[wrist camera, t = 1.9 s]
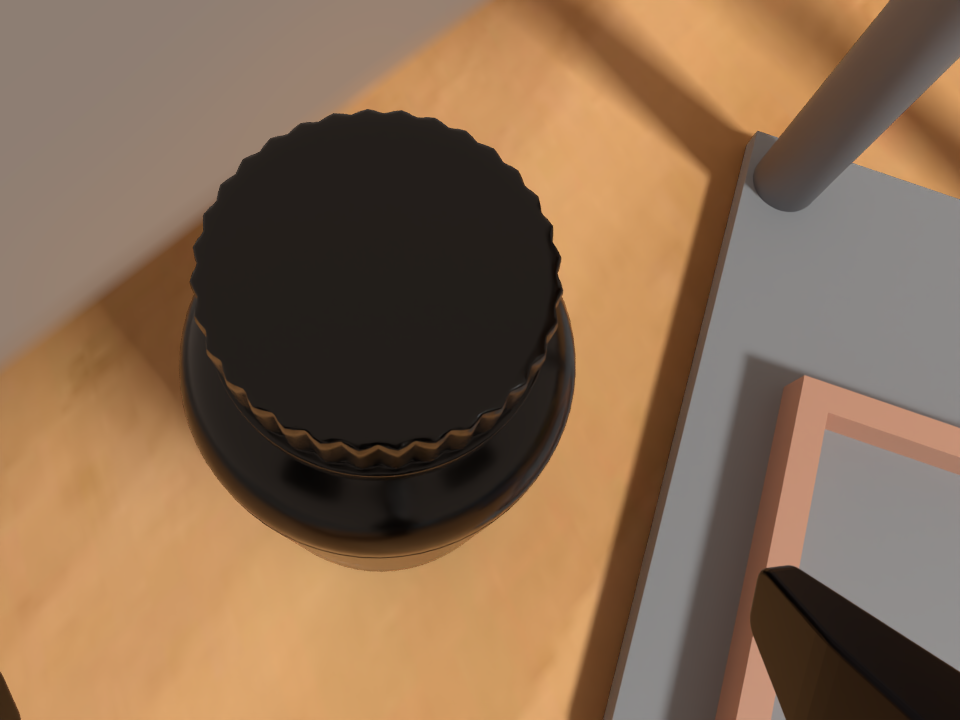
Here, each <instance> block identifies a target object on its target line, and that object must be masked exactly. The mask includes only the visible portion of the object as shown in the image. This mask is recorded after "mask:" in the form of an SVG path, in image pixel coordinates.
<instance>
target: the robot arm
mask: <svg viewBox="0 0 960 720" xmlns="http://www.w3.org/2000/svg"><path fill="white" fill-rule="evenodd" d="M750 625H751V630H752V634H753V637H754V639H755V642H756V644H757V647H758V650H759V652H760V655H761V657H762V660H763V662H764V665H765V668H766V670H767V673H768V675H769V678H770V680H771V683H772V686H773V688H774V691H775V693H776V696H777V698H778V701H779V704H780V706H781V709H782V711H783V714H784V716H785V719H786V720H960V671H958V670H957V669H955V668H954V667H952V666H951V665H949V664H947V663H946V662H944V661H943V660H941V659H940V658H938V657H936V656H935V655H933V654H932V653H930V652H929V651H927V650H926V649H924V648H922V647H921V646H919V645H918V644H916V643H915V642H913V641H912V640H910V639H908V638H907V637H905V636H904V635H902V634H901V633H899V632H898V631H896V630H894V629H893V628H891V627H890V626H888V625H887V624H885V623H884V622H882V621H880V620H879V619H877V618H876V617H874V616H873V615H871V614H869V613H868V612H866V611H865V610H863V609H862V608H860V607H859V606H857V605H855V604H854V603H852V602H851V601H849V600H848V599H846V598H845V597H843V596H841V595H840V594H838V593H837V592H835V591H834V590H832V589H831V588H829V587H827V586H826V585H824V584H823V583H821V582H820V581H818V580H816V579H815V578H813V577H812V576H810V575H809V574H807V573H806V572H804V571H802V570H801V569H799V568H797V567H795V566H791V565H785V566H778V567H770V568H765V569H762V570H761V572H760V573H759V575H758V578H757V582H756V587H755V592H754V597H753V602H752V607H751V612H750ZM0 720H21V718H20V714H19V711H18V709H17V707H16V704H15V702H14V700H13V698H12V695H11V693H10V691H9V689H8V686H7V684H6V682H5V680H4V677H3V675H2V674H1V672H0Z"/></svg>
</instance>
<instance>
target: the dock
mask: <svg viewBox="0 0 960 720" xmlns="http://www.w3.org/2000/svg"><path fill="white" fill-rule="evenodd" d="M959 57H960V0H890V1H889V2H888V3H887V5H886V6H885V7H884V8H883V10H882V11H881V12H880V13H879V15H878V16H877V17H876V18H875V19H874V21H873V22H872V23H871V24H870V26H869V27H868V28H867V29H866V31H865V32H864V33H863V34H862V36H861V37H860V38H859V39H858V41H857V42H856V43H855V44H854V45H853V47H852V48H851V49H850V50H849V52H848V53H847V54H846V55H845V57H844V58H843V59H842V60H841V62H840V63H839V64H838V65H837V67H836V68H835V69H834V70H833V71H832V73H831V74H830V75H829V76H828V78H827V79H826V80H825V81H824V83H823V84H822V85H821V86H820V88H819V89H818V90H817V91H816V92H815V94H814V95H813V96H812V97H811V99H810V100H809V101H808V102H807V104H806V105H805V106H804V107H803V109H802V110H801V111H800V112H799V114H798V115H797V116H796V117H795V118H794V120H793V121H792V122H791V123H790V125H789V126H788V127H787V128H786V130H785V131H784V132H783V133H782V135H781V136H780V137H779V138H777V137H774V136H771V135H768V134H765V133H762V132H760V131H757V132H756V133H755V135H754V136H753V137H752V139H751V140H750V141H749V143H748V144H747V146H746V150H745V154H744V158H743V162H742V166H741V170H740V174H739V178H738V182H737V186H736V190H735V194H734V198H733V202H732V206H731V210H730V214H729V218H728V222H727V226H726V230H725V234H724V238H723V242H722V246H721V250H720V254H719V258H718V262H717V266H716V270H715V274H714V278H713V282H712V286H711V290H710V294H709V298H708V302H707V306H706V310H705V314H704V318H703V322H702V326H701V330H700V334H699V338H698V342H697V346H696V350H695V354H694V358H693V362H692V366H691V370H690V374H689V378H688V382H687V386H686V390H685V394H684V398H683V402H682V406H681V410H680V414H679V418H678V422H677V426H676V430H675V434H674V438H673V442H672V446H671V450H670V454H669V458H668V462H667V466H666V470H665V474H664V478H663V482H662V486H661V490H660V494H659V498H658V502H657V506H656V510H655V514H654V518H653V522H652V526H651V530H650V534H649V538H648V542H647V546H646V550H645V554H644V558H643V562H642V566H641V570H640V574H639V578H638V582H637V586H636V590H635V594H634V598H633V602H632V606H631V610H630V614H629V618H628V622H627V626H626V630H625V634H624V638H623V642H622V646H621V650H620V654H619V658H618V662H617V666H616V670H615V674H614V678H613V682H612V686H611V690H610V694H609V698H608V702H607V706H606V710H605V714H604V718H603V720H786V719H785V716H784V714H783V711H782V709H781V706H780V704H779V701H778V698H777V696H776V693H775V691H774V688H773V686H772V683H771V680H770V678H769V675H768V673H767V670H766V668H765V665H764V662H763V660H762V657H761V655H760V652H759V650H758V647H757V644H756V642H755V639H754V637H753V634H752V630H751V625H750V612H751V607H752V602H753V597H754V592H755V587H756V582H757V578H758V575H759V573H760V572H761V570H762V569H765V568H770V567H778V566H785V565H791V566H795V567H797V568H799V569H801V570H802V571H804V572H806V573H807V574H809V575H810V576H812V577H813V578H815V579H816V580H818V581H820V582H821V583H823V584H824V585H826V586H827V587H829V588H831V589H832V590H834V591H835V592H837V593H838V594H840V595H841V596H843V597H845V598H846V599H848V600H849V601H851V602H852V603H854V604H855V605H857V606H859V607H860V608H862V609H863V610H865V611H866V612H868V613H869V614H871V615H873V616H874V617H876V618H877V619H879V620H880V621H882V622H884V623H885V624H887V625H888V626H890V627H891V628H893V629H894V630H896V631H898V632H899V633H901V634H902V635H904V636H905V637H907V638H908V639H910V640H912V641H913V642H915V643H916V644H918V645H919V646H921V647H922V648H924V649H926V650H927V651H929V652H930V653H932V654H933V655H935V656H936V657H938V658H940V659H941V660H943V661H944V662H946V663H947V664H949V665H951V666H952V667H954V668H955V669H957V670H958V671H960V199H957V198H954V197H951V196H948V195H945V194H942V193H939V192H936V191H933V190H930V189H928V188H925V187H922V186H919V185H916V184H913V183H910V182H907V181H904V180H901V179H898V178H895V177H892V176H889V175H886V174H883V173H880V172H877V171H874V170H872V169H869V168H866V167H863V166H860V165H857V164H854V163H852V162H853V161H854V160H855V159H856V158H857V157H858V156H860V155H861V154H862V153H863V152H864V151H865V150H866V149H867V148H868V147H869V146H870V145H871V144H872V143H873V142H874V141H875V140H876V139H877V138H878V137H879V136H880V135H881V134H882V133H883V132H884V131H885V130H886V129H887V128H888V127H889V126H890V125H891V124H892V123H893V122H894V121H895V120H896V119H897V118H898V117H899V116H900V115H901V114H902V113H903V112H904V111H905V110H906V109H907V108H908V107H909V106H910V105H912V104H913V103H914V102H915V101H916V100H917V99H918V98H919V97H920V96H921V95H922V94H923V93H924V92H925V91H926V90H927V89H928V88H929V87H930V86H931V85H932V84H933V83H934V82H935V81H936V80H937V79H938V78H939V77H940V76H941V75H942V74H943V73H944V72H945V71H946V70H947V69H948V68H949V67H950V66H951V65H952V64H953V63H954V62H955V61H956V60H957V59H958V58H959Z"/></svg>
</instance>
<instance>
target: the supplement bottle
mask: <svg viewBox="0 0 960 720" xmlns="http://www.w3.org/2000/svg"><path fill="white" fill-rule="evenodd" d="M552 241H553V225H552V224H551V223H550V222H549V220H548V219H547V218H546V217H545V216H544V215H543V214H542V213H541V206H540V201H539V197H538V196H537V195H536V194H535V193H534V192H533V191H531V190H529V189H528V188H527V187H526V186H525V185H524V182H523V179H522V177H521V175H520V173H519V171H518V170H516V169H515V168H513V167H512V166H509V165H507V164H505V163H504V162H503V161H502V159H501V158H500V156H499V155H498V153H497V152H496V151H495V149H494V148H491V147H489V146H486V145H483V144H480V143H477V142H476V140H475V139H474V138H473V137H472V136H471V135H470V134H469V133H468V132H467V131H464V130H460V129H453V128H448V127H447V126H446V125H445V124H443V123H442V122H441V121H439V120H437V119H436V118H430V117H425V118H417V117H415V116H412V115H411V114H409V113H407V112H404V111H402V110H401V111H393V112H389V113H380V112H377V111H374V110H369V109H366V110H363V111H360V112H357V113H355V114H352V115H348V114H336V113H333V114H331V115H329V116H327V117H326V118H324V119H322V120H321V121H319V122H306V123H300V124H299V125H298V126H296V127H295V128H294V129H293V130H292V131H291V132H290V133H288V134H286V135H283V136H277V137H274V138H270V139H269V140H268V142H267V143H266V144H265V145H264V147H263V148H262V149H261V151H260V152H258V153H256V154H254V155H251V156H249V157H247V158H245V159H243V160H242V162H241V164H240V166H239V168H238V170H237V172H236V174H235V175H234V176H232V177H230V178H229V179H227V180H226V181H225V182H223V183H222V184H221V185H220V188H219V191H218V196H217V201H216V202H215V203H214V204H213V205H212V206H211V207H210V208H209V209H208V210H207V211H206V212H205V213H204V215H203V233H202V234H201V236H200V237H199V238H198V239H197V241H196V243H195V245H194V246H193V251H194V256H195V260H196V263H197V264H196V267H195V270H194V271H193V273H192V276H191V279H190V286H191V288H192V290H193V293H194V295H193V298H192V301H191V304H190V306H189V309H188V312H187V315H186V319H185V323H184V327H183V332H182V338H181V345H180V360H179V374H180V389H181V395H182V401H183V406H184V410H185V414H186V417H187V421H188V424H189V427H190V430H191V432H192V435H193V437H194V440H195V442H196V445H197V446H198V448H199V450H200V452H201V454H202V456H203V458H204V459H205V461H206V463H207V464H208V466H209V467H210V469H211V470H212V472H213V473H214V474H215V476H216V477H217V479H218V480H219V481H220V483H221V484H222V485H223V486H224V487H225V488H226V489H227V491H228V492H229V493H230V494H231V495H232V496H233V498H234V499H235V500H236V501H238V502H239V503H240V504H241V505H242V506H243V507H244V508H245V509H246V510H247V511H248V512H249V513H251V514H252V515H253V516H255V517H256V518H257V519H259V520H260V521H261V522H262V523H264V524H265V525H267V526H268V527H270V528H271V529H273V530H275V531H276V532H278V533H280V534H281V535H283V536H285V537H286V538H288V539H290V540H291V541H293V542H295V543H296V544H298V545H300V546H301V547H303V548H305V549H306V550H308V551H310V552H311V553H313V554H315V555H316V556H319V557H321V558H323V559H325V560H327V561H330V562H332V563H335V564H338V565H341V566H344V567H348V568H353V569H357V570H364V571H379V572H385V571H397V570H403V569H409V568H413V567H417V566H420V565H423V564H426V563H429V562H431V561H434V560H436V559H438V558H440V557H442V556H444V555H446V554H448V553H450V552H451V551H453V550H455V549H456V548H458V547H459V546H461V545H462V544H464V543H465V542H466V541H468V540H469V539H471V538H472V537H473V536H475V535H476V534H477V533H479V532H480V531H482V530H483V529H484V528H486V527H487V526H488V525H490V524H491V523H492V522H494V521H495V520H496V519H498V518H499V517H500V516H501V515H503V514H504V513H505V512H506V511H508V510H509V509H510V508H511V507H512V506H513V505H514V504H515V503H516V502H517V501H518V500H519V499H520V498H521V497H522V496H523V495H524V494H525V493H526V491H527V490H528V489H529V488H530V487H531V486H532V484H533V483H534V482H535V481H536V479H537V478H538V476H539V475H540V474H541V472H542V471H543V469H544V468H545V466H546V465H547V463H548V462H549V460H550V458H551V456H552V455H553V453H554V451H555V449H556V447H557V445H558V443H559V441H560V438H561V436H562V434H563V431H564V429H565V426H566V423H567V419H568V416H569V413H570V409H571V404H572V399H573V394H574V385H575V374H576V372H575V347H574V338H573V332H572V328H571V323H570V318H569V315H568V312H567V309H566V306H565V303H564V300H563V298H562V295H563V288H562V285H561V281H560V280H559V277H558V274H557V273H558V271H559V268H560V263H561V256H560V254H559V252H558V250H557V248H556V247H555V245H554V244H553V242H552Z"/></svg>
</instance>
